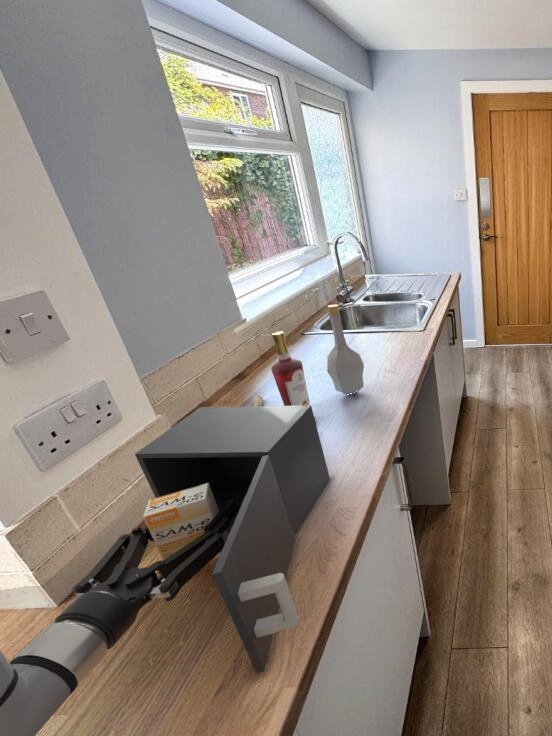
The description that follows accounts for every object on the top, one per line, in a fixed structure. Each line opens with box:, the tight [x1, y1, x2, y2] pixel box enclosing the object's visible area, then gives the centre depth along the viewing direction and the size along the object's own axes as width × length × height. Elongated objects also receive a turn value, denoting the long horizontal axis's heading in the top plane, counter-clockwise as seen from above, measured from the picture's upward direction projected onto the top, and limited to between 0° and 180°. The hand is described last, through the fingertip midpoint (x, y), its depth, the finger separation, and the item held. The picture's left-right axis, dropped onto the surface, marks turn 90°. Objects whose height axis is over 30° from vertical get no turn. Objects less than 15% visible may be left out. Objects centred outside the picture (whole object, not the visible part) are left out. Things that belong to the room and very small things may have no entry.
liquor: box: [270, 331, 316, 419], centre depth 109 cm, size 7×7×28 cm
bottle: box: [326, 304, 365, 396], centre depth 125 cm, size 11×11×30 cm
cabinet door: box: [211, 455, 301, 674], centre depth 64 cm, size 6×24×20 cm, turn 17°
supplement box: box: [142, 483, 229, 562], centre depth 68 cm, size 8×5×13 cm, turn 120°
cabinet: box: [134, 404, 331, 536], centre depth 82 cm, size 16×24×20 cm, turn 89°
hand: (207, 505), depth 72 cm, fingers closed on supplement box, 9 cm apart
